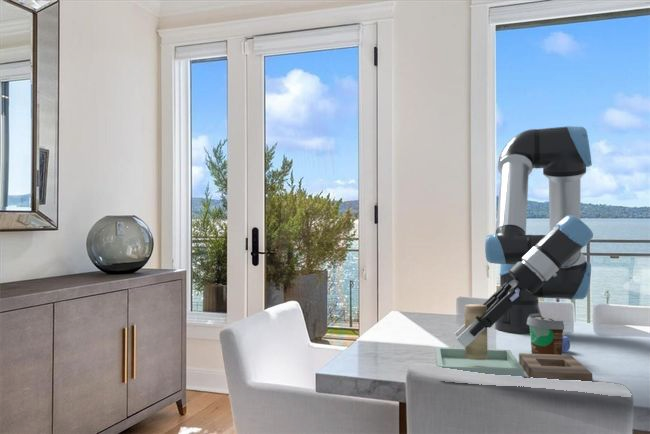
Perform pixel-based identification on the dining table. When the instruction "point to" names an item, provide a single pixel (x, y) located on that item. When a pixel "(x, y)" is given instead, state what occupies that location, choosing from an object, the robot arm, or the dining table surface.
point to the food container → (545, 335)
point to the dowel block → (554, 367)
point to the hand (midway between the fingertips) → (459, 340)
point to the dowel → (479, 344)
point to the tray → (480, 362)
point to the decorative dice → (565, 344)
